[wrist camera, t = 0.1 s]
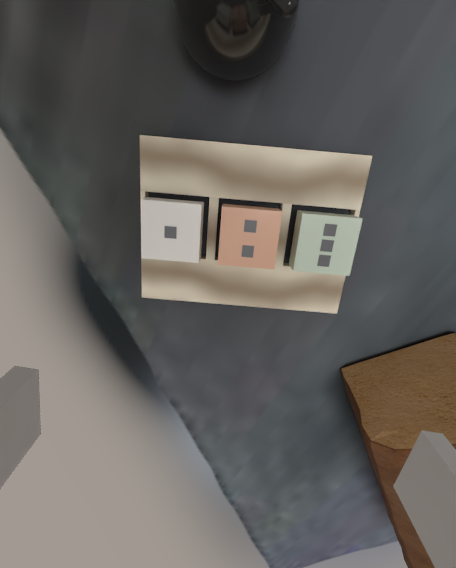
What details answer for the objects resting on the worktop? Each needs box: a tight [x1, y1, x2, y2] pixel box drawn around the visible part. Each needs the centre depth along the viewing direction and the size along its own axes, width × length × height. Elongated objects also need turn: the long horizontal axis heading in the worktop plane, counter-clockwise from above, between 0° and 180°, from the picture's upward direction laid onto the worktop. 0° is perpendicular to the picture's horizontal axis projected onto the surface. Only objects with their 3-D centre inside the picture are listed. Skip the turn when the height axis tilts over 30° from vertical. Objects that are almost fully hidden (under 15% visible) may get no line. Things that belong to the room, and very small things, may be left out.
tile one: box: [141, 197, 204, 263], centre depth 33 cm, size 6×6×3 cm
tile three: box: [289, 210, 363, 276], centre depth 33 cm, size 6×6×3 cm
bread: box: [340, 333, 456, 568], centre depth 39 cm, size 18×30×16 cm, turn 23°
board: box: [140, 135, 372, 314], centre depth 36 cm, size 18×24×2 cm
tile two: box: [218, 204, 282, 269], centre depth 33 cm, size 6×6×3 cm
